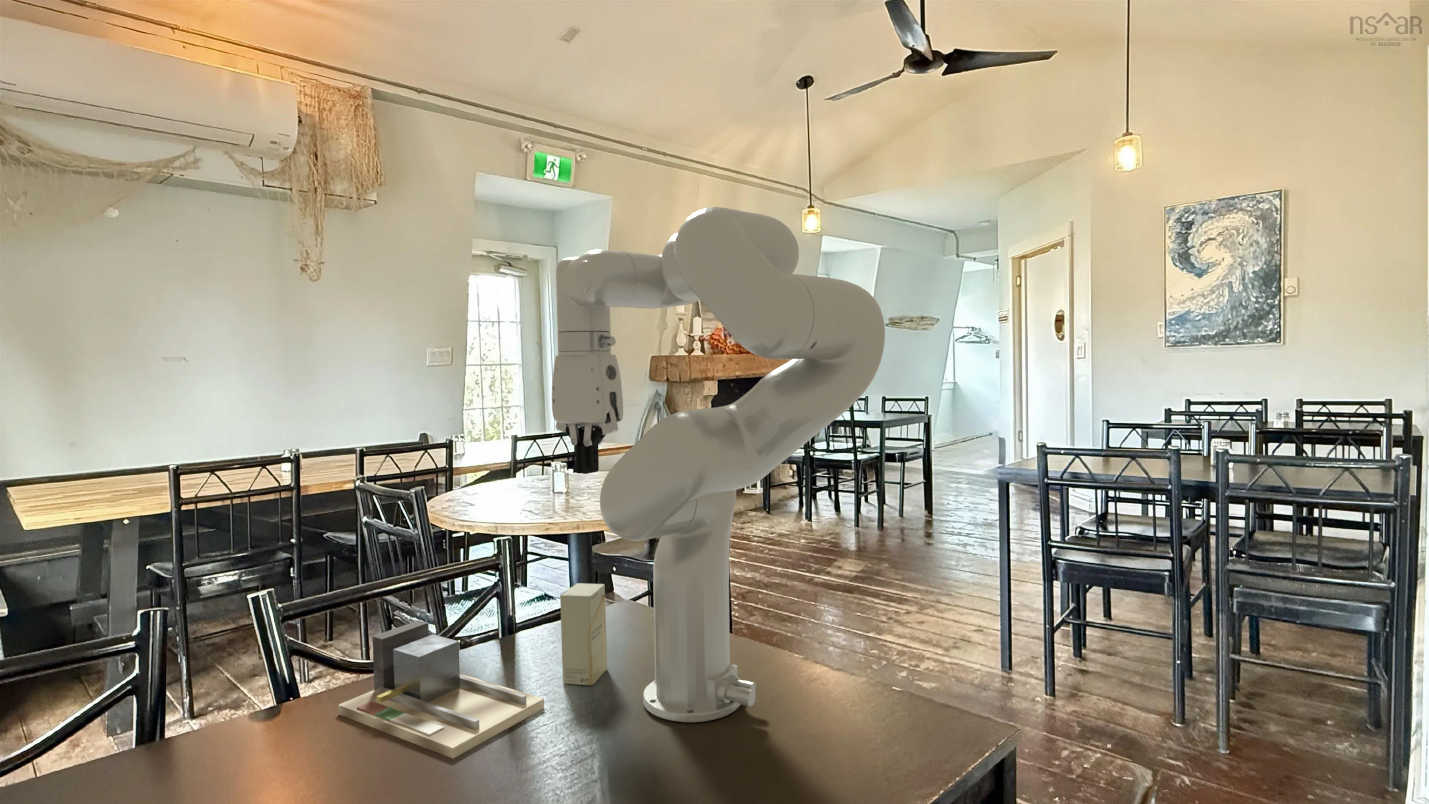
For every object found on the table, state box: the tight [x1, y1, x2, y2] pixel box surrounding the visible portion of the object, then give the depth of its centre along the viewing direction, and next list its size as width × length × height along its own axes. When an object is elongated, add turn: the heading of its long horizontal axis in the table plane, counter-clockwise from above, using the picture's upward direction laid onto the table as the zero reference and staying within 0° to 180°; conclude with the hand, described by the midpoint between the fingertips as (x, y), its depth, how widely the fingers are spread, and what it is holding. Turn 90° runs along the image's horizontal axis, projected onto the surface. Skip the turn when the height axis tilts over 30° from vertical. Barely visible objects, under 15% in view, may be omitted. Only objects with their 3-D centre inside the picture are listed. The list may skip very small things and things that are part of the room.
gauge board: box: [337, 619, 545, 759], centre depth 95 cm, size 21×14×8 cm, turn 58°
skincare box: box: [559, 582, 608, 686], centre depth 105 cm, size 6×4×12 cm
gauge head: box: [376, 634, 461, 703], centre depth 96 cm, size 5×10×6 cm, turn 148°
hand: (587, 472), depth 111 cm, fingers closed
